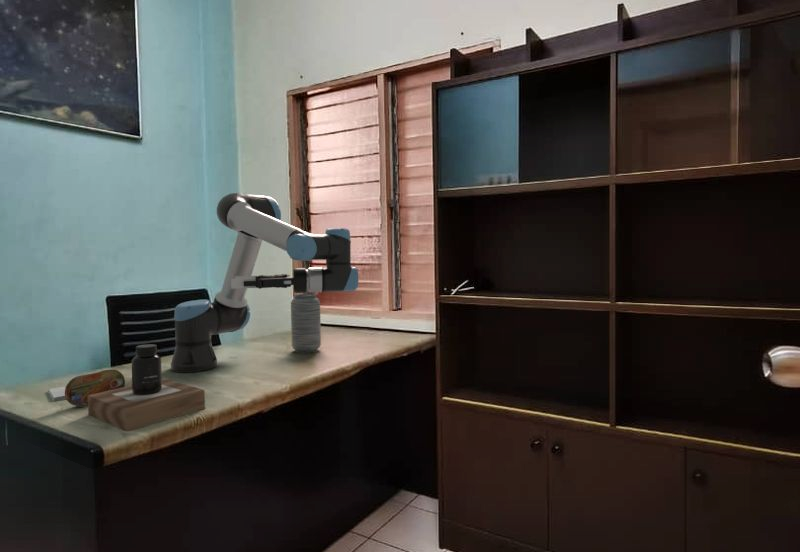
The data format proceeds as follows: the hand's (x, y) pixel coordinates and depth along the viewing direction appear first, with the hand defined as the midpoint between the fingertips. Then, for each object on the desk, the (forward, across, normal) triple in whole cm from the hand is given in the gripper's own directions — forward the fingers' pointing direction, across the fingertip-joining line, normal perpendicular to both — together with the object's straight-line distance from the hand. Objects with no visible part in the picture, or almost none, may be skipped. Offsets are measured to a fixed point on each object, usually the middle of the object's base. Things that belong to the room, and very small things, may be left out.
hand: (233, 282), depth 148 cm
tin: (+37, -2, -32) cm, 49 cm away
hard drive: (+48, +9, -33) cm, 58 cm away
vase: (-23, +51, -32) cm, 65 cm away
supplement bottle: (+21, -15, -27) cm, 37 cm away
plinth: (+21, -15, -32) cm, 41 cm away
